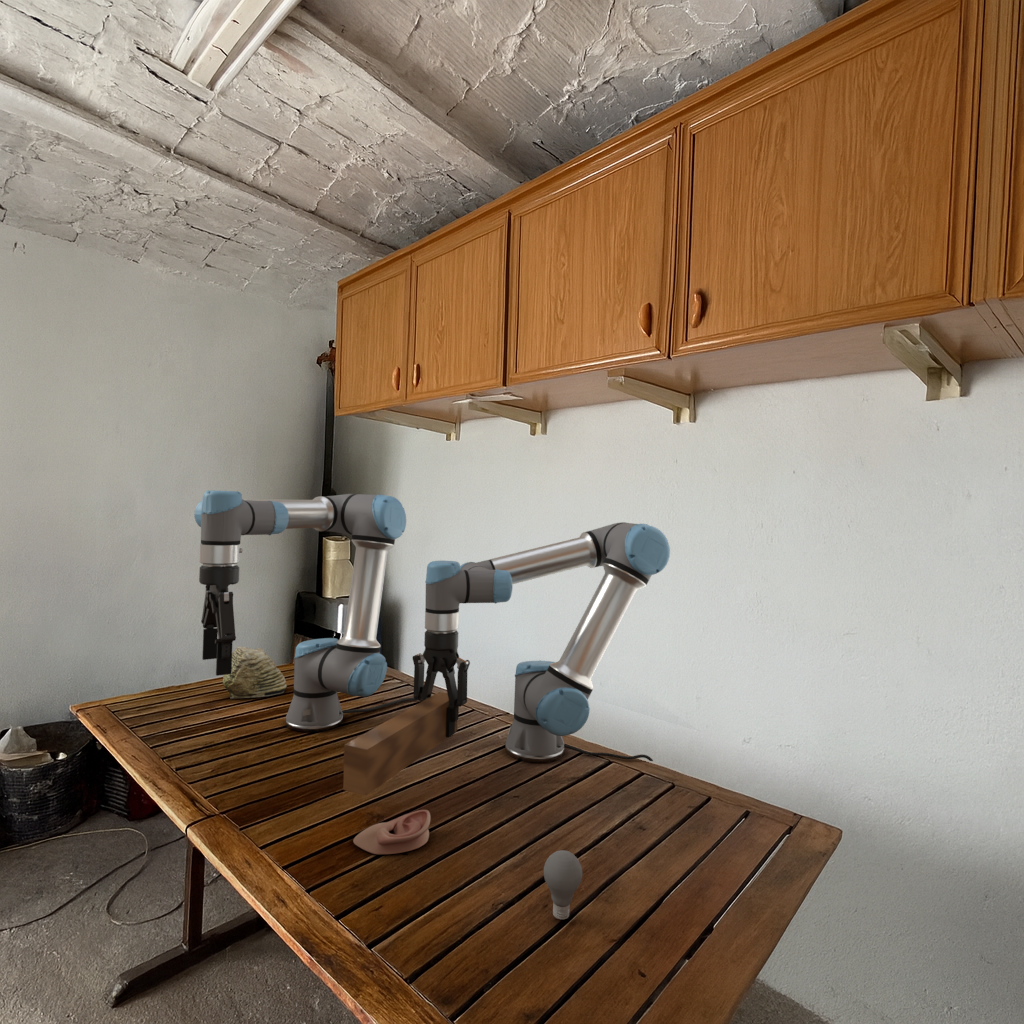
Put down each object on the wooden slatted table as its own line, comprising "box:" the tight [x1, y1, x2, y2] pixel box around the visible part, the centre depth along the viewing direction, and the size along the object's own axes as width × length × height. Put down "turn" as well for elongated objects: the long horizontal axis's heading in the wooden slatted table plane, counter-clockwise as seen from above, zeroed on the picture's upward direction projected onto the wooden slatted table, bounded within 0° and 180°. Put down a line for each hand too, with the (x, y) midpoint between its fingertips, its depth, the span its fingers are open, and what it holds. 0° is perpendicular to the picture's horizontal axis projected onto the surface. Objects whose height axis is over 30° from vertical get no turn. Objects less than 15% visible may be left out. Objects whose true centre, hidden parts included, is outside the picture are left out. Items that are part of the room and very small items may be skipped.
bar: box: [342, 691, 458, 796], centre depth 130 cm, size 35×5×8 cm, turn 157°
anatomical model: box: [352, 809, 431, 856], centre depth 118 cm, size 13×4×12 cm
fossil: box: [222, 646, 288, 699], centre depth 198 cm, size 9×18×15 cm, turn 132°
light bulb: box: [543, 849, 583, 920], centre depth 98 cm, size 6×6×10 cm
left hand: (216, 666), depth 132 cm, fingers open, 13 cm apart
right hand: (439, 732), depth 142 cm, fingers closed on bar, 5 cm apart
